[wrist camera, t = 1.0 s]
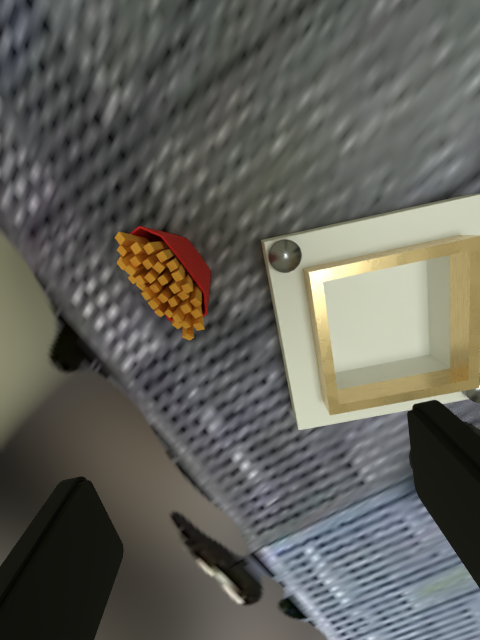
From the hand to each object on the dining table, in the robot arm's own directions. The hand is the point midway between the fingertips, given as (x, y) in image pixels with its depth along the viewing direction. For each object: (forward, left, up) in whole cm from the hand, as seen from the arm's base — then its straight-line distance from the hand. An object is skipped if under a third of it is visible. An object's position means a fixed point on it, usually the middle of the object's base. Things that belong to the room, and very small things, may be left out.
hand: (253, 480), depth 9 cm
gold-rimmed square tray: (+5, +13, -24) cm, 28 cm away
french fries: (-4, -5, -24) cm, 25 cm away
